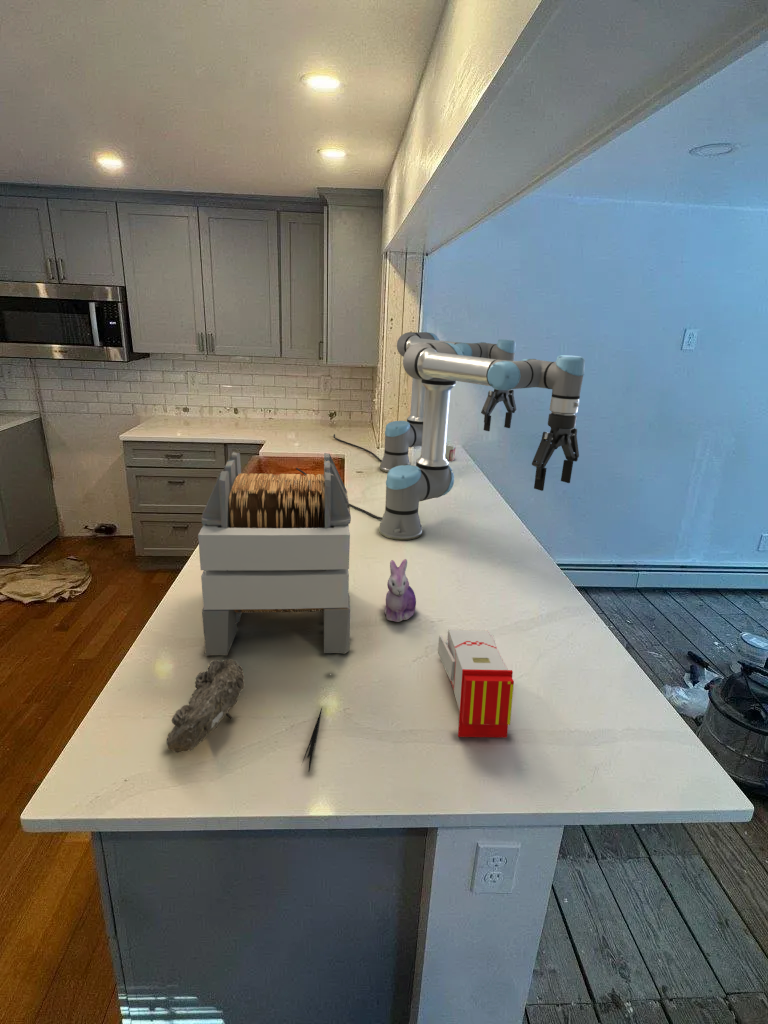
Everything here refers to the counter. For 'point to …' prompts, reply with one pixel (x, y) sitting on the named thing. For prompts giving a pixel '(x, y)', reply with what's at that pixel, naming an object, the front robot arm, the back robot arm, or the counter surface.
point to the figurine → (399, 594)
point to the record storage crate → (275, 551)
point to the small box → (450, 452)
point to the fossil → (206, 705)
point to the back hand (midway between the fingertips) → (497, 429)
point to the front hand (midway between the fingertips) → (552, 485)
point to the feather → (313, 740)
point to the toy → (478, 682)
